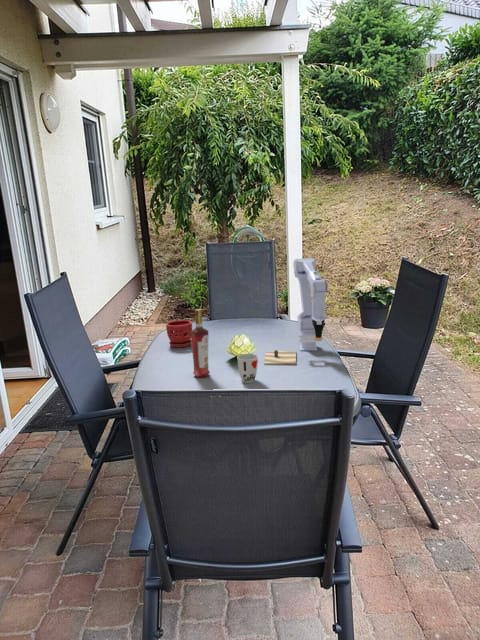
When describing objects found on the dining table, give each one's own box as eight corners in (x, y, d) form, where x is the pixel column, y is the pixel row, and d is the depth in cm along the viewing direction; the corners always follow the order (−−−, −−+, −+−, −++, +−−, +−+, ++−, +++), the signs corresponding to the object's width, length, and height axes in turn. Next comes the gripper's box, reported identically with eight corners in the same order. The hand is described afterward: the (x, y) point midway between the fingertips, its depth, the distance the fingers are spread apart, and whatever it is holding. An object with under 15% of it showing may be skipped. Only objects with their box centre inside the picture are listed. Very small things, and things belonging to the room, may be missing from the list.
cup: (241, 385, 186) (240, 360, 184) (235, 378, 193) (235, 354, 191) (260, 382, 188) (260, 358, 186) (254, 376, 195) (254, 352, 193)
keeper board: (266, 352, 227) (266, 344, 226) (296, 352, 225) (296, 344, 224) (263, 364, 209) (263, 356, 208) (295, 364, 208) (295, 356, 207)
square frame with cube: (321, 338, 216) (321, 327, 215) (322, 342, 210) (322, 331, 208) (299, 338, 218) (299, 327, 216) (299, 342, 211) (299, 331, 210)
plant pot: (195, 341, 249) (194, 319, 247) (190, 348, 237) (188, 325, 234) (170, 341, 251) (169, 319, 248) (164, 348, 238) (163, 325, 235)
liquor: (201, 371, 203) (198, 307, 197) (214, 374, 198) (211, 309, 192) (189, 376, 197) (185, 310, 191) (201, 379, 193) (198, 312, 186)
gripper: (328, 310, 202) (328, 341, 205) (326, 303, 216) (326, 332, 219) (312, 310, 203) (311, 340, 206) (311, 303, 217) (311, 332, 220)
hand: (318, 336), depth 213 cm, fingers closed on square frame with cube, 3 cm apart
